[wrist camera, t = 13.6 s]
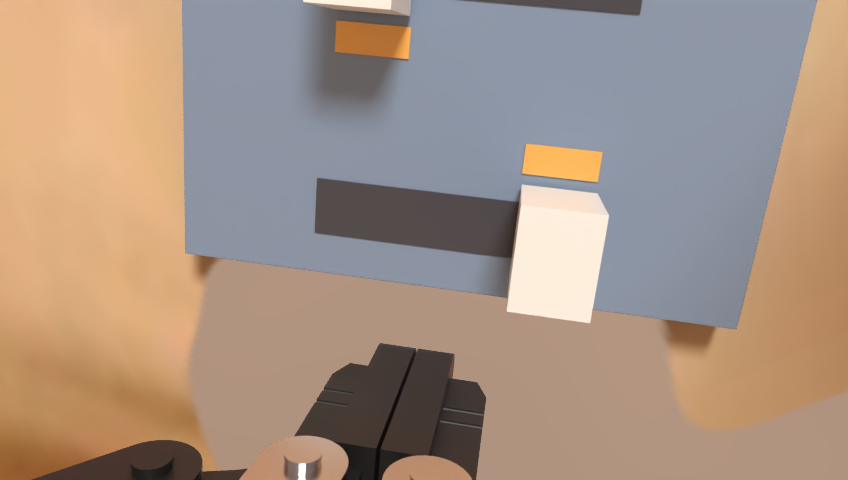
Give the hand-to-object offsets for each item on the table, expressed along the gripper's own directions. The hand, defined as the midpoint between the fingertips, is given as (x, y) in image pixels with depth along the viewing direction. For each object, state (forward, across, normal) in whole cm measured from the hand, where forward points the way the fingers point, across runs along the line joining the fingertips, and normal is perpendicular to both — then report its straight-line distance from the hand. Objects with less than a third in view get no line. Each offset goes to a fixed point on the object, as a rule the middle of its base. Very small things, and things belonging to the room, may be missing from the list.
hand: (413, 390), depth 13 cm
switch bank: (+17, +1, -5) cm, 18 cm away
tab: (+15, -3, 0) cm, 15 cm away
